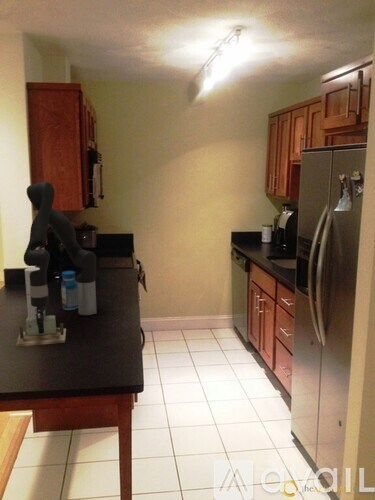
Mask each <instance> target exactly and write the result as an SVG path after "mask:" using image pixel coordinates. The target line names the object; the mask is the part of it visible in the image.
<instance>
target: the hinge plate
mask: <svg viewBox="0 0 375 500" xmlns="http://www.w3.org/2000/svg"><path fill="white" fill-rule="evenodd" d="M66 334H67V328H64V323H63V322H61V323H59V327H56V333H55V334H44V335H32V336H27V329H25V331H24V327H23V326H19V335H18V337H17V342H16V345H15V347H16V348H17V347H18V348H20V347H28V346H40V345H41V346H42V345H52V344H53V345H54V344H64V343H66Z"/></svg>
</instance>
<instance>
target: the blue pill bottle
mask: <svg viewBox="0 0 375 500" xmlns="http://www.w3.org/2000/svg"><path fill="white" fill-rule="evenodd" d="M61 278H62V281H61V284H60V286H61V290H60V292H61V303H62V304H61V305H62V307H61V308H62V309H63V310H65V311H72V310H76V309H78V293H77V280H76V272H75V271H74V270H66V271H62V272H61Z"/></svg>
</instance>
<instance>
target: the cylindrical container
mask: <svg viewBox="0 0 375 500" xmlns="http://www.w3.org/2000/svg"><path fill="white" fill-rule="evenodd" d="M40 269H41V267H36V266H33V267H27V268H25V269H24V279H25V289H26V290H25V291H26V292H25V293H26V304H27V305H26V306H27V317H36V313H35V310H36V308H37V307H33V306H32V305H31V297H30V273H31V272H32V271H36V270H40Z"/></svg>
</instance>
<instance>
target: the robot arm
mask: <svg viewBox="0 0 375 500" xmlns="http://www.w3.org/2000/svg"><path fill="white" fill-rule="evenodd" d="M55 194H56V193H55V188H54V186H53V184H52V183H51V182H49V181H41V182H37V183H33V184H31V185H29V186H27V188H26V195H27V198H28V200H29V202H31V205H33V207H34V208H35V209H36V210H37V214H36V216H35V217H34V219H33V220H32V222H31V226H30V233H29V241H28V244H27V247H26V248H25V252H24V254H23V262H24V264H25V266H28V267H36V266H37V267H40V270H36V271H32V272H31V273H30V297H31V305H32V306H33V307H37V308H36V310H35V313H36V320H37V326H38V331H39V334H41V333H44V321H43V320H44V319H45V316H47V315H46V311H47V309H46V306H48V305H49V303H50V299H49V288H48V276H47V273H48V266H49V263H50V258H51V257H50V252H49V251H48V250H46V249H38V248H41V247H44V246H45V245H46V244H47V240H48V227H50V229H51V230H52V231H53V233H54V235H55V236H56V238H57V239H58V240H59V241H60V243H61V244H62V246H63V247H64V249H65V250H66V252H67V254H68V256H69V258H70V259H71V261H72V264H74V266H76V267H77V268H80V269H81V273H80V274H78V275H76V282H77V297H78V308H77V309H78V311H77V313H78V315H80V316H81V315H82V316H92V315H95V314H98V313H97V296H96V276H97V256H96V254H95V253H94V252H93V251H91V250H86V249H83V248H82V247H81V246H80V244H79V243H78V241H77V237H76V236H77V235H76V234H77V233H76V230H75V227H74V226H73V224H72V222H71V221H70V219H69V218H68V217H67V216H65V214H63V213H62V212H59V211H58V210H56V209H54V208H53V205H54V200H55V196H56V195H55ZM39 321H41V322H42V323H39Z"/></svg>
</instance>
